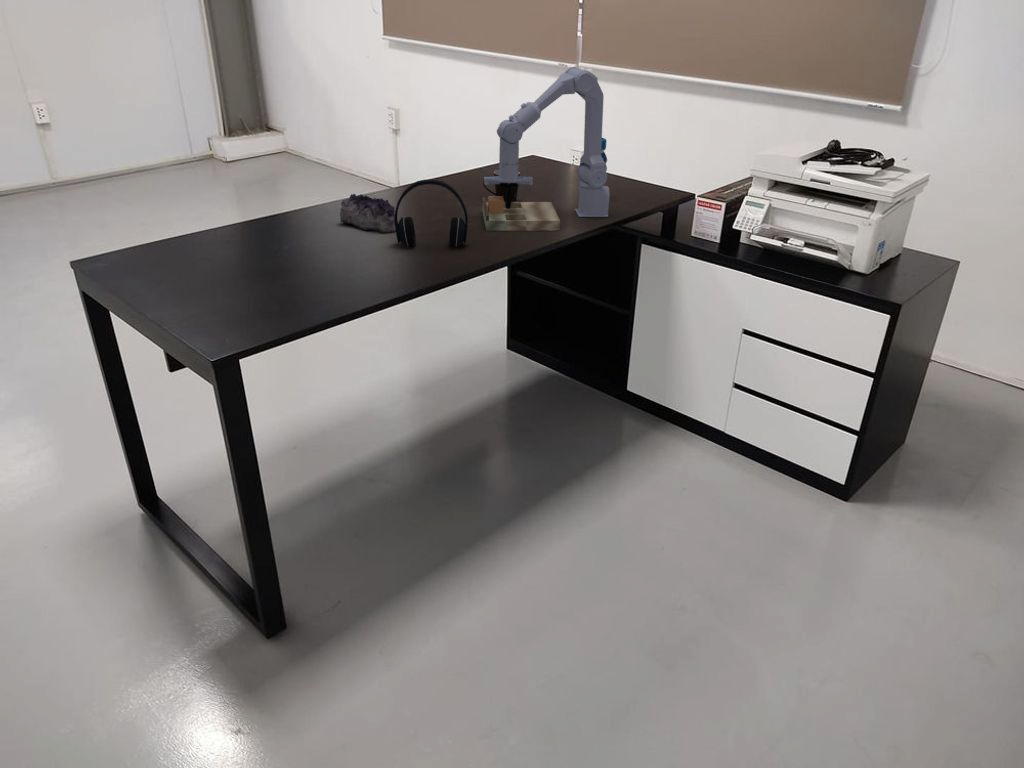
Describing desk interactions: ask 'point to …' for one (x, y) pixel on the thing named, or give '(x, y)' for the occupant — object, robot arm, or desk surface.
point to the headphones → (406, 226)
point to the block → (495, 204)
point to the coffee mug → (498, 189)
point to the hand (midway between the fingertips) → (507, 207)
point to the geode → (368, 213)
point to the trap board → (522, 217)
